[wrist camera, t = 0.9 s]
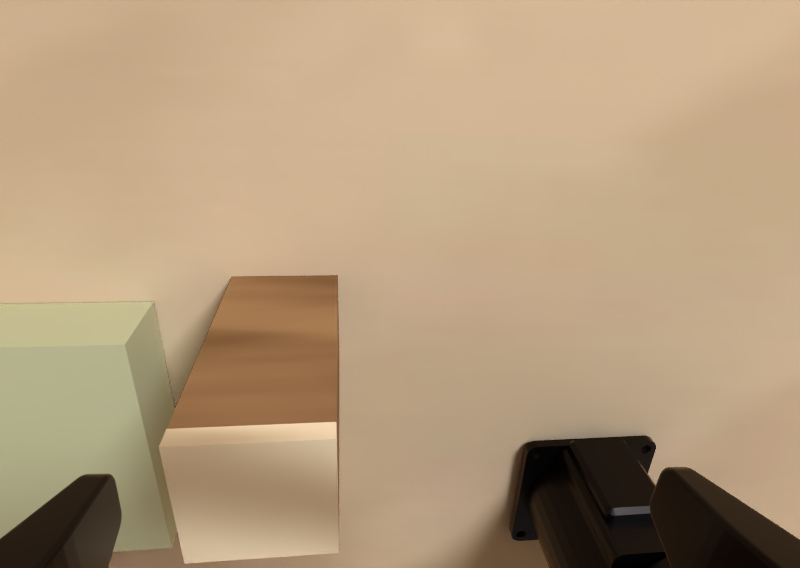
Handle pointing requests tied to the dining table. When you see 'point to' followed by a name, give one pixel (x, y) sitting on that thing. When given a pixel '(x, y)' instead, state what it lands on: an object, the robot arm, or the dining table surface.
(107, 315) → the block
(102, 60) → the dining table surface
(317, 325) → the walnut block
